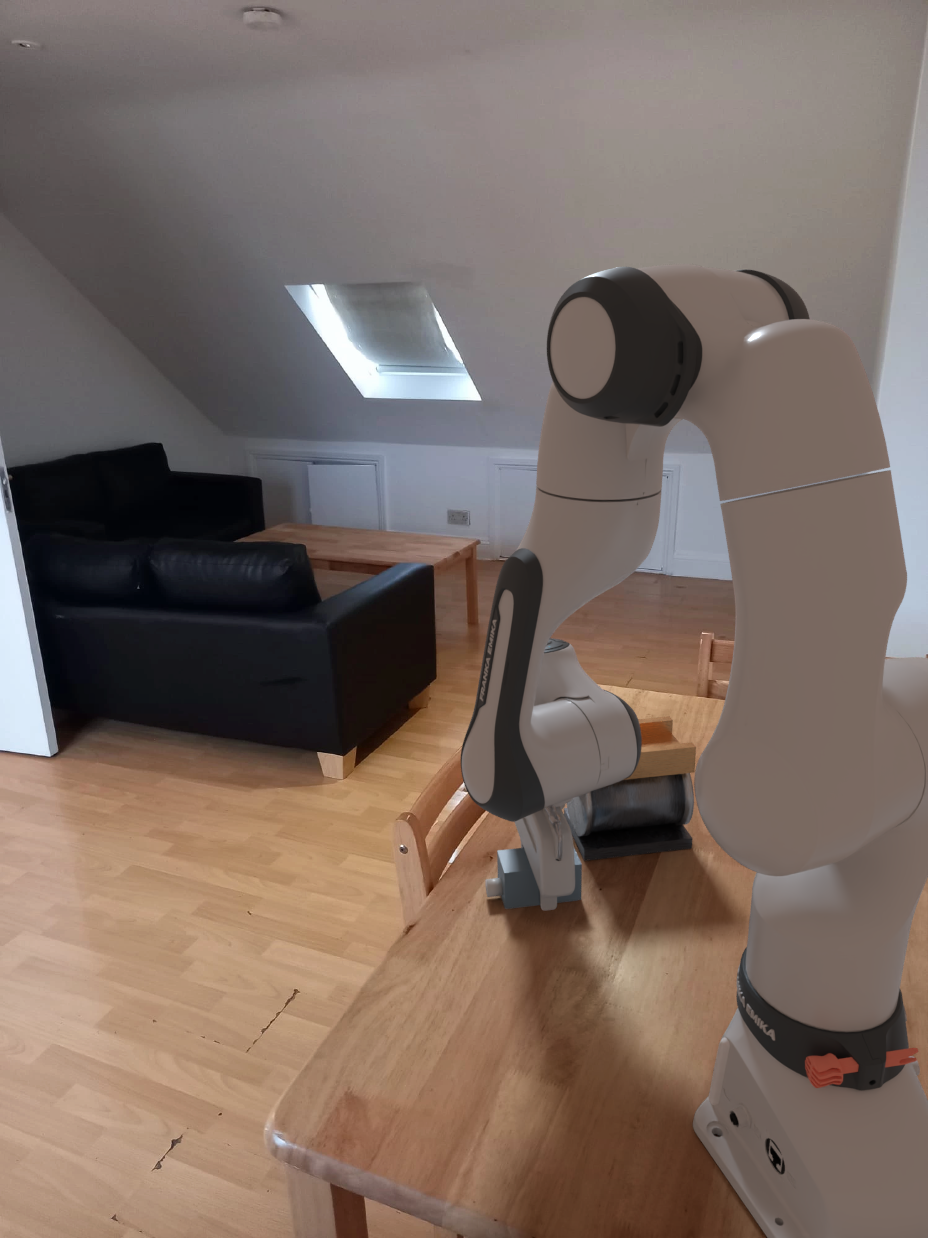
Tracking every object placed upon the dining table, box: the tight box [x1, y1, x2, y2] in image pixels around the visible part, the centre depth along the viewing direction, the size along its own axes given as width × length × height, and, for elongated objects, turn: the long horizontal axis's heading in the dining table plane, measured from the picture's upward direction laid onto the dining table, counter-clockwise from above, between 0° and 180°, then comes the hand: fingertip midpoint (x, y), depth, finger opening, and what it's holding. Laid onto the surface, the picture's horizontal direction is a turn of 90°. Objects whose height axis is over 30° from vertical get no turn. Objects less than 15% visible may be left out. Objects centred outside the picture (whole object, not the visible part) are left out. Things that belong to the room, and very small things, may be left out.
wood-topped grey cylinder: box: [563, 716, 697, 862], centre depth 109 cm, size 10×14×14 cm
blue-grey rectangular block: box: [485, 847, 583, 910], centre depth 99 cm, size 4×11×5 cm, turn 98°
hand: (538, 880), depth 100 cm, fingers open, 8 cm apart
